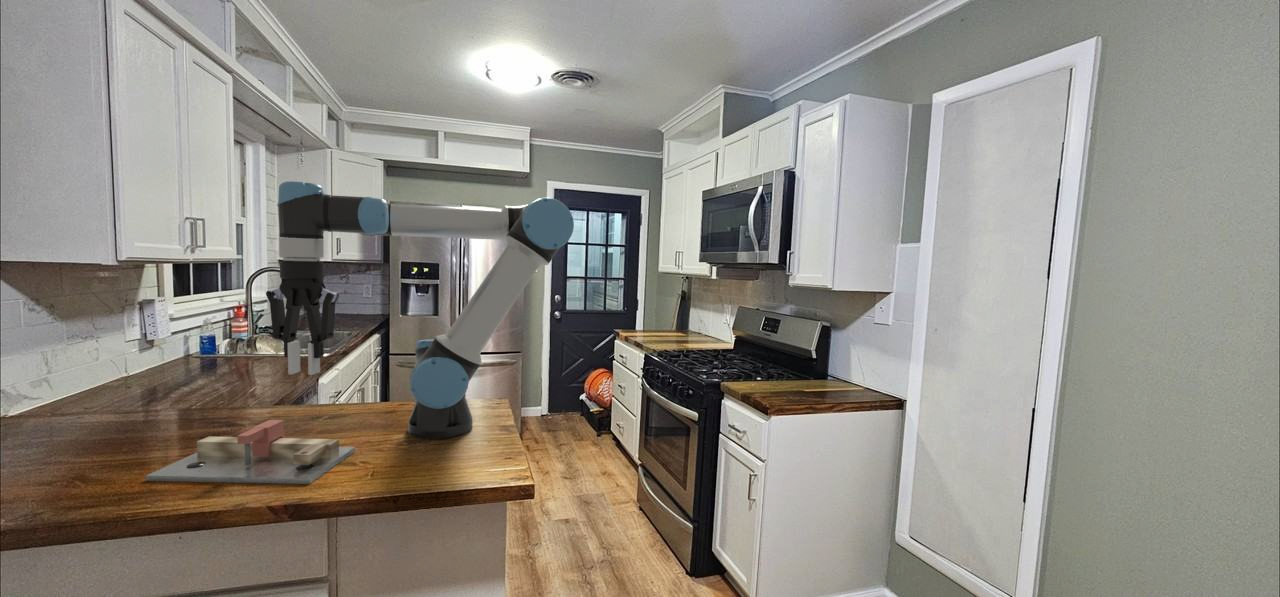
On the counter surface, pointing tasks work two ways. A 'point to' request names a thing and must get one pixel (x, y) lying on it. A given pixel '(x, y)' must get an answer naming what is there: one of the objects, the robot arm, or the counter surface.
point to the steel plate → (246, 469)
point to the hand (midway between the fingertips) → (304, 372)
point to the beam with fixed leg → (273, 448)
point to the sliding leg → (261, 438)
